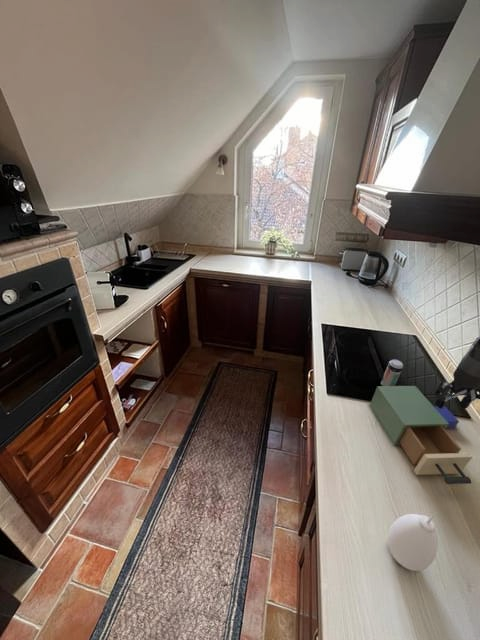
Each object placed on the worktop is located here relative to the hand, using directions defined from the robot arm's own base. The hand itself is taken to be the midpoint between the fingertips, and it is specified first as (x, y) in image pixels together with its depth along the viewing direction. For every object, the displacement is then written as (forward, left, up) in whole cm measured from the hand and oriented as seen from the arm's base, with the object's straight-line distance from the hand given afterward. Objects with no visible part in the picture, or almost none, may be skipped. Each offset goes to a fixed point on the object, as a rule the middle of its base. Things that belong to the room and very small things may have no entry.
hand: (450, 406), depth 84 cm
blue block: (0, -1, -8) cm, 8 cm away
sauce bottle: (+36, +34, -8) cm, 50 cm away
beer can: (+10, -18, -8) cm, 21 cm away
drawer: (+15, +13, -7) cm, 21 cm away
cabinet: (+15, 0, -8) cm, 17 cm away
